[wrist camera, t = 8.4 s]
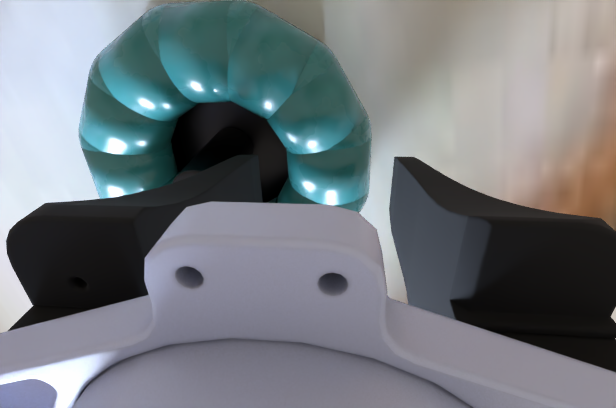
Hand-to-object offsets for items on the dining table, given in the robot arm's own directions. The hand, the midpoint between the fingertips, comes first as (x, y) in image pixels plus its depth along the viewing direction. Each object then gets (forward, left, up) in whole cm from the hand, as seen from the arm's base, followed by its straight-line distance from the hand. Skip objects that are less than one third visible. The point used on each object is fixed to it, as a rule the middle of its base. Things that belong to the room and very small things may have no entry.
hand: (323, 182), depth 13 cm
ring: (-4, 0, -2) cm, 4 cm away
